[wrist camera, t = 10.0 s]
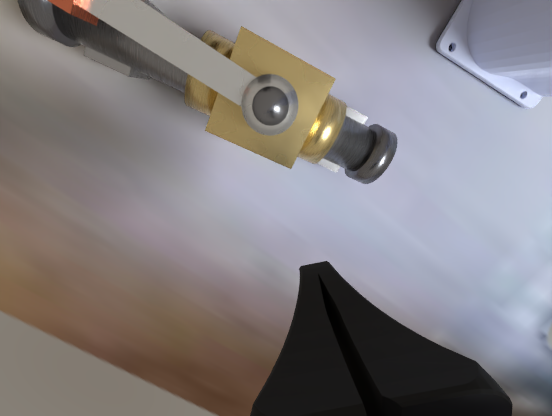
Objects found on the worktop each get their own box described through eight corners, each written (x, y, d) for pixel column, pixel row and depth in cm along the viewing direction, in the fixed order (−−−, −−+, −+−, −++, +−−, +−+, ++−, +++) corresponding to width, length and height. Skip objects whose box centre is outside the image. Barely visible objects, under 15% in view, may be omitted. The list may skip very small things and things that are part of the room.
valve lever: (304, 95, 13) (311, 95, 11) (277, 141, 14) (280, 148, 12) (-10, -119, 9) (-73, -170, 7) (-21, -40, 10) (-81, -70, 8)
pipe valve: (377, 119, 19) (424, 128, 14) (343, 177, 21) (374, 206, 16) (92, -34, 15) (-6, -112, 9) (78, 55, 17) (-11, 34, 11)
